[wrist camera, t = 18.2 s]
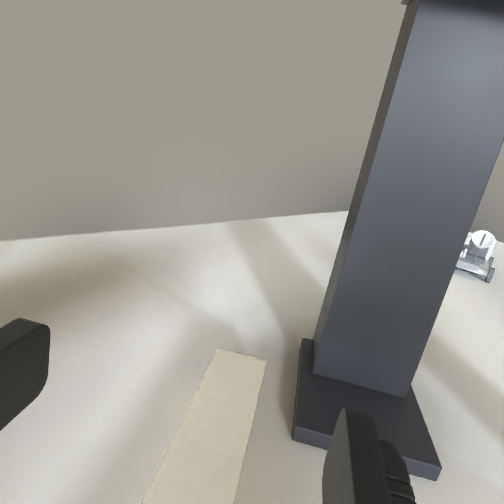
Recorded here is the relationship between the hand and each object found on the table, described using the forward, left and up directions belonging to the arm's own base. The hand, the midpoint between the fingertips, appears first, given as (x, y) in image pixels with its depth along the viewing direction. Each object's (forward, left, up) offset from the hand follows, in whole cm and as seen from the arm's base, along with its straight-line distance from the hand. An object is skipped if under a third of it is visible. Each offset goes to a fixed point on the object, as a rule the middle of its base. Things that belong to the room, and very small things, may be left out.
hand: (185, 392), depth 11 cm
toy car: (+38, +80, -13) cm, 90 cm away
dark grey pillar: (+10, +21, -13) cm, 27 cm away
